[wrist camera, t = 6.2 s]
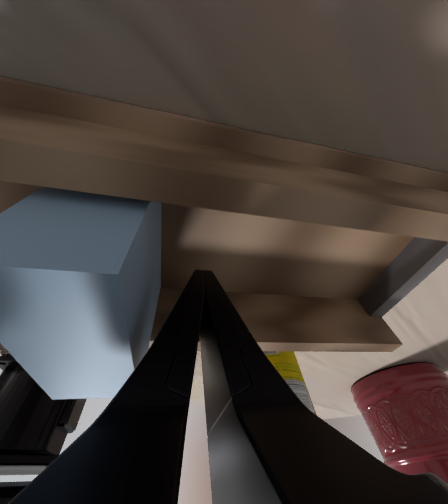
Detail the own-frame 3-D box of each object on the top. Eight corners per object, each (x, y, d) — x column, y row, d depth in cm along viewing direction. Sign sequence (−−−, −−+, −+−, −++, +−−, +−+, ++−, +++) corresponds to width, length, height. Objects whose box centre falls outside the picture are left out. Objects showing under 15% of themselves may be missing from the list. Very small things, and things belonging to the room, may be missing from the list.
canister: (408, 354, 26) (638, 648, 12) (454, 367, 31) (656, 590, 17) (331, 390, 33) (425, 608, 19) (378, 396, 38) (481, 574, 24)
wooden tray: (462, 176, 11) (603, 224, 7) (348, 303, 18) (390, 364, 14) (-287, 13, 6) (-1275, -136, 2) (-50, 281, 12) (-163, 369, 9)
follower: (161, 174, 8) (118, 274, 4) (160, 285, 13) (138, 396, 8) (81, 162, 8) (-76, 260, 3) (107, 282, 12) (52, 399, 8)
